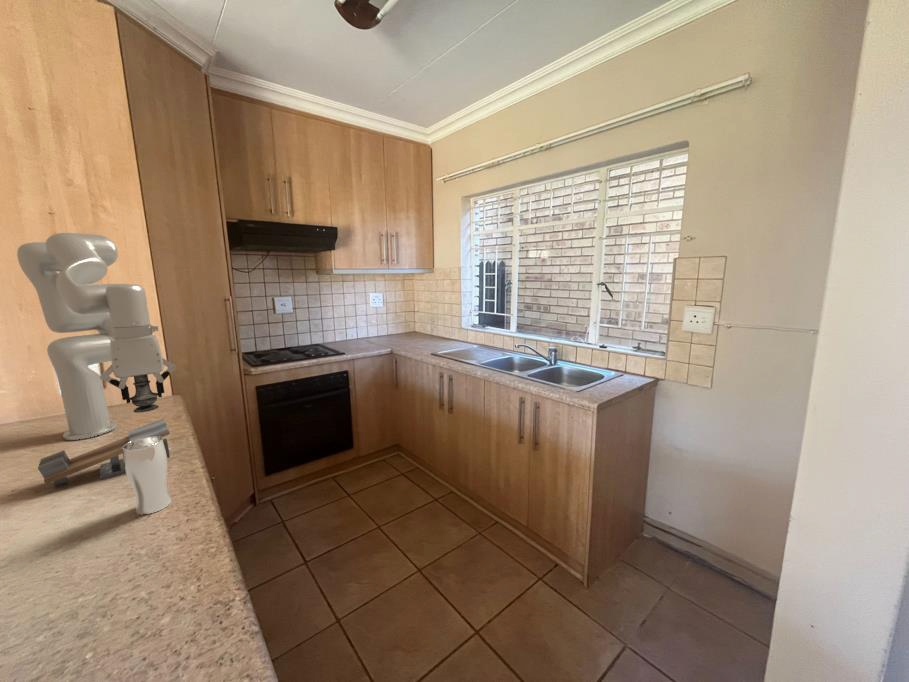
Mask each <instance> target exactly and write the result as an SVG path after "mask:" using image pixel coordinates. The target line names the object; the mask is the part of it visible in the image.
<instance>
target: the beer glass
mask: <svg viewBox="0 0 909 682" xmlns="http://www.w3.org/2000/svg"><path fill="white" fill-rule="evenodd" d="M163 439H164V438H163V437H160V436H149V437H143V438H139V439H136V440H133V441H130V442H128V443H126V444H125V445H124V446H123V447H122V449H123V454H122V457H123V458H122V459H123V461H124V467H125V471H126V473H125V474H126V476H127V479H128V482H129V484H130V486H131V489H133V492H134V495H135V513H136V514H137V515H139V514H140V515H141V516H144V515H143V514H147V515H151V514H150V513H152V514H155V513H157V511H158V512H160V511H162V510H164V509H165V507H166V508H167V507H168V506H170V504H171V503H172V498H171V496H170V494H169V492H168V491H169V490H168V488H167V486H168V485H167V480H168V479H167V476H168V458H167V455H166V450H165V446H164V443H163ZM154 512H155V513H154Z"/></svg>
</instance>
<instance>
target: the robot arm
mask: <svg viewBox="0 0 909 682" xmlns="http://www.w3.org/2000/svg"><path fill="white" fill-rule="evenodd" d="M16 256H17V260H18V264H19V266H20V268H21V271H22V272H23V274H24V275H25V276H26V278H27V279H28V280H29V281H30V283H31V284H32V286H33V287H34V289H35V290H36V293H37V297H38V300H39V303H40V307H41V310H42V314H43V316H44V320H45V323H46V325H47V327H48V329H49V330H50V331H52V332H53V333H57V334H58V333H59V334H67V333H68V334H69V333H79V332H88V331H89V332H90V331H97V332H98V333H93V334H83V335H75V336H68V337H61V338H58V339H55V340H53V341H51V342H49V344H48V345H47V348H46V349H47V351H46V352H47V356H48V358H49V361H50V363H51V364H52V365H51V366H53V369H54V371H55V374H56V377H57V381H58V386H59V390H60V394H61V400H62V403H63V409H64V413H65V417H66V418H65V419H66V423H67V426H68V430H67V431H65V432H64V433H63V434H62V438H63V439H64V440H65V441H66V440H67V441H79V439H80V440H85V438H86V439H91V438H95V437H98V436H97V435H99V436H101V435H100V434H102V435H104V434H103V433H105V434H107V433H106V432H108V433H110V432H112V431H114V430H115V429H116V428H117V427H118V425H117V422H115V421H111V420H110V416H109V415H110V414H109V410H108V405H107V399H106V396H105V395H106V394H105V389H104V386H103V383H104V382H106V383H108V384H110V385H112V386H115V387H116V388H118V389H119V390H120V394H121V397H122V401H126V404H130V403H131V400H130V398H131V397H130V392H129V386H127V381H128V379H129V378H134V376H141V375H153V376H154V377H155V379H156V382H155V385H156V386H155V387H156V393H158V395H157V398H163V395H162V394H164V393H165V387H164V381H165V380H166V379H167V378H168V377H169V376H170V375H171V373H172V372H174V371H175V370H176V369H177V365H175V364H174V363H171V362H170V361H168V360H166V359H165V358H163V355H162V349H161V347H160V344H159V340H158V338H157V336H156V335H155V334H154V333H156V332H159V326H154V325H151V320H150V314H149V307H148V301H147V295H146V291H145V288H144V287H143V286H142V285H141V284H129V283H97V282H99V281H101V280H103V278H105V276H106V275H107V273H108V267H110V266H111V265H113V264H114V263H115V262H116V261H118V260H117V259H118V256H119V252H118V247H117V246H116V244H115V242H114V241H113V240H112V239H111V238H109V237H107V236H105V235H102V234H89V233H75V232H74V233H73V232H61V233H60V232H58V233H55V234H52V235H50V236H49V237H48V238H47V239H46V240H45V241H44V242H43V241H39V242H38V241H36V242H27V243H24V244H21V245H20V246H19V247H17V253H16ZM58 272H59V273H58ZM108 362H111V364H110V365H109V367H107V368H106V370H105V371H103V372H102V374H101V375H100V374H99V373H98V372H96V371H95V370H92V369H91V368H90V367H89V366H91V365H95V364H102V363H108ZM164 367H167V369H165V370H164ZM160 372H162V373H160ZM112 373H113V376H114V377H115V378H113V377H111V376H110V375H111V374H112ZM116 378H118V379H116ZM103 381H104V382H103ZM114 428H115V429H114ZM113 429H114V430H113ZM111 430H112V431H111ZM109 431H110V432H109ZM94 436H95V437H94ZM90 437H91V438H90Z"/></svg>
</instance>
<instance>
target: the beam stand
mask: <svg viewBox="0 0 909 682" xmlns="http://www.w3.org/2000/svg"><path fill="white" fill-rule="evenodd" d="M162 439H163V443H164V446H165V450H166V455H167V457H168V458H170V450H169V443H168V439H167V438H162ZM119 456H120V455H118V456H115V457H113V458H110V459H109V462H105V463H101V464H100V466H99V467H100V469H99V479H100V481H103V480H105V479H109V478H112V477H113V478H114V477H116V476H120V475H123V473H124V474H126V471H125V467H124V461H123V458H121V459H120V458H119ZM53 485H54V489H57V488H61V487H64V486H67V485H68V476H66V477H64V478H62V479H59V480H57V481H54V482H53Z"/></svg>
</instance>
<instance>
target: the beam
mask: <svg viewBox="0 0 909 682" xmlns="http://www.w3.org/2000/svg"><path fill="white" fill-rule="evenodd" d="M170 435H171V433H170V430H169V427H168V424H167V423H166V420H165V418H162V419H159V420H156V421H154V422H151V423H148V424H146V425H144V426H141V427H138V428H136V429H133V430H131V431H128V436H125V437H123V438H120V439H117V440H115V441H112V442H110V443H108V444H104V445H103V446H100V447H97V448H95V449H92V450H89V451H88V452H84V453H82V454H79V455H77V456H74V457H71V458H69V456H68V455H67V453H66V451H65V450H61V451H58V452H56V453H53V454H51V455H48V456H46V457H42V458H40V461H39V464H38V466H37V469H38V471H39V473H40V474H41V476H42V478H43V479H44V480H43V481H44V483H45V485H49V484H51V483H54V481H57V480H59V479H62V478H64V477H66V476H67V477H68V476H71V475H73V474H76V473H78V472H81V471H83V470H85V469H88V468H91V467H93V466H95V465H98V464H100V463H101V464H102V463H103V462H105V461H107V460H110V458H113V457H115V456H118V455H119V456H121V455H123V449H122V447H123V446H124V445H125V444H126V443H128V442H130V441H133V440H136V439H139V438H143V437H149V436H160V437H162V438H164V437H166V436H167V437H168V436H170Z"/></svg>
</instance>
